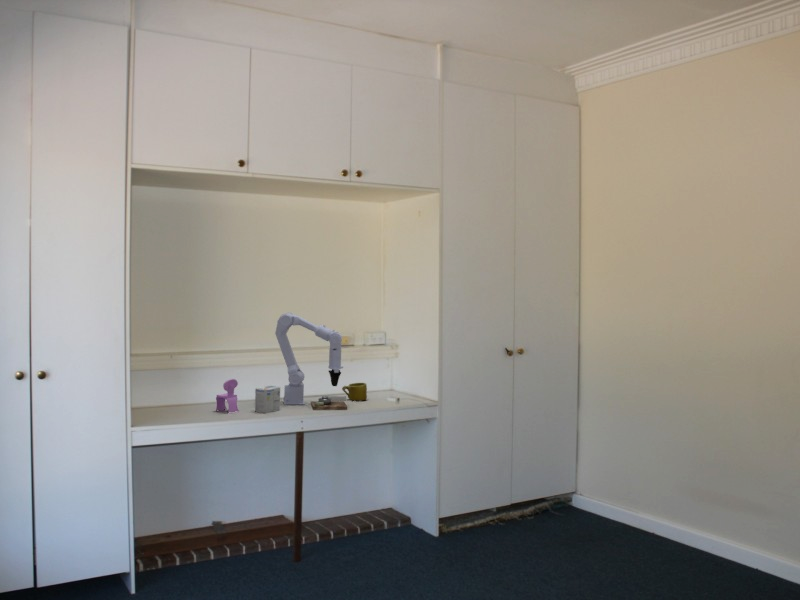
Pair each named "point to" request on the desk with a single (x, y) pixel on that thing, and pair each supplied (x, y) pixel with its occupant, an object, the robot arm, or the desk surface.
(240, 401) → the desk surface
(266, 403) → the light bulb box
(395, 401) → the desk surface
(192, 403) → the desk surface
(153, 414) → the desk surface
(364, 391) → the mug
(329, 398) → the grey lever handle
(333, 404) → the base
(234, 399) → the toy chair
